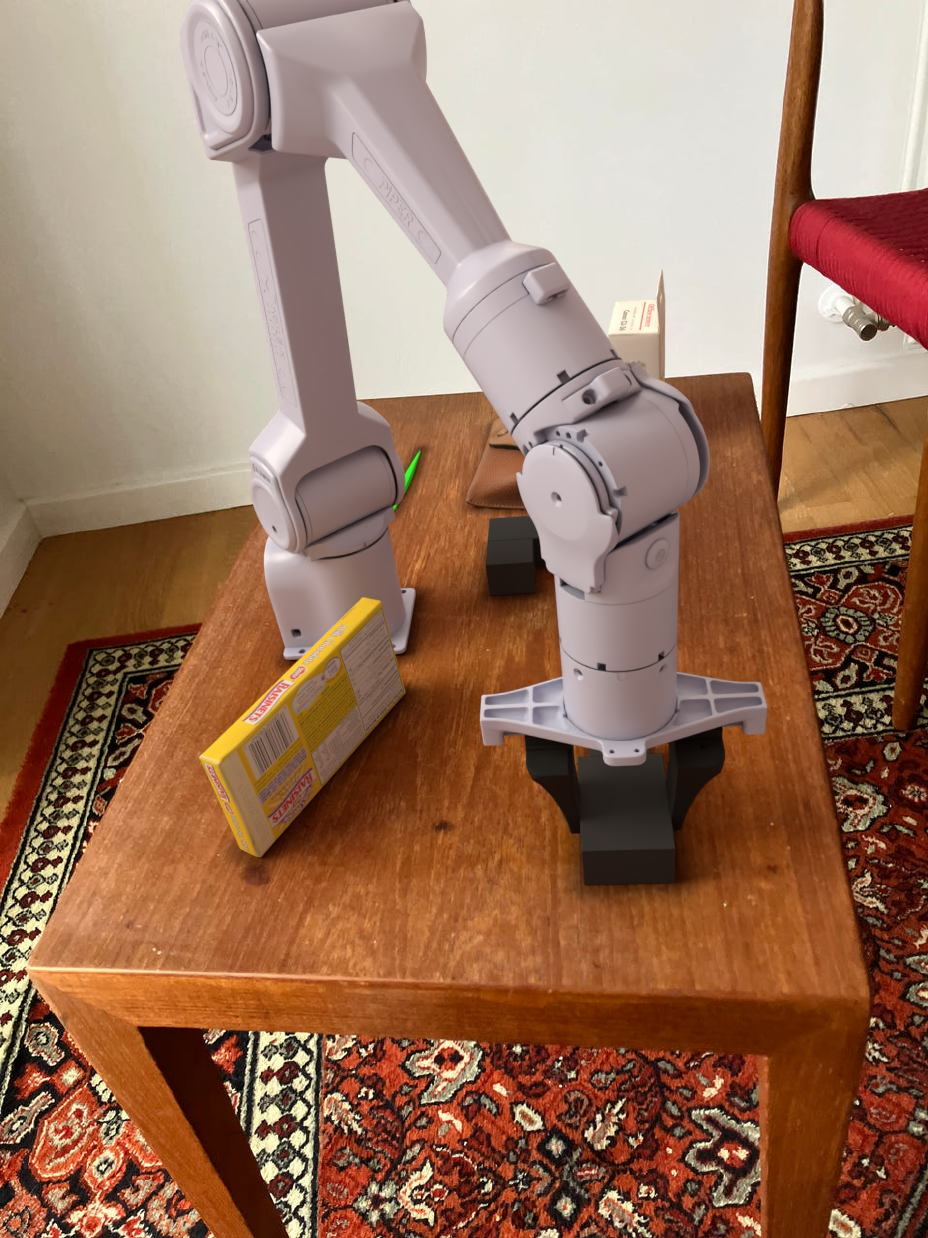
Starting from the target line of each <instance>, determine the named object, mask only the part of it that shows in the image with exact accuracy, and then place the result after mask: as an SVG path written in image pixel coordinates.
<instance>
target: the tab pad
mask: <svg viewBox="0 0 928 1238" xmlns="http://www.w3.org/2000/svg"><path fill="white" fill-rule="evenodd" d="M666 776H667V775H666V769H665V763H664V755H663V753H651V748H649V749H647V750H646V761H645V762H644V763H643V764H640V765H632V766H610V765H608V764H606V763H605V762H604V760H603V753H602V752H601V751H599V750H594V749H590V748H588V756H578V757H577V777H578V782H579V802H580V832H581V833H580V852H581V865H582V879H583V880H582V881H583V885H584V886H598V885H599V886H600V885H601V886H605V885H608V886H609V885H646V884H647V885H648V884H649V885H650V884H651V885H652V884H653V885H654V884H675V883H676V852H677V851H676V849H677V848H676V841H675V834H674V831H673V826H672V819H671V813H670V806H669V799H668V791H667V784H666Z"/></svg>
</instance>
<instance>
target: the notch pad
mask: <svg viewBox="0 0 928 1238" xmlns="http://www.w3.org/2000/svg"><path fill="white" fill-rule="evenodd" d="M488 520H489V521H488V530H487V542H486V543H487V544H486V556H485V572H486V573H485V574H486V579H487V587H488V595H489V596H506V595H521V594H535V593H536V591H537V590H536V589H537V587H536V586H537V585H536V583H537V582H536V581H537V579H536V578H537V574H536V573H537V569H547V567H546V562H545V560H544V559H542V557H541V546H540V539H539V535H538V532H537V529H536V527H535V525H534V523H533V521H532V519H531V518H530V516H529V515H518V516H517V515H516V516H504V517H490V518H489V519H488Z"/></svg>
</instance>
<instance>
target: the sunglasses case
mask: <svg viewBox="0 0 928 1238" xmlns="http://www.w3.org/2000/svg"><path fill="white" fill-rule="evenodd" d="M524 460H525V456H524V455H523V453H522V452H521V450H520V449H519V447H518V445H517V444H516V442H515V441H514V439H513V438H512V436H511V435H510V433H509V432H508V430H507V428H506V427H505V425H504V424H503V422H502V421H501V419H500V418H499V417H498V418H495V419H494V420H493V421H492V422H491V424H490V429H489V433H488V437H487V439H486V443H485V446H484V449H483V452H482V453H481V457H480V460H479V463H478V465H477V469H476V471H475V474H474V476H473V479H472V481H471V483H470V485H469V488H468V491H467V493H466V499H465V503H466V504H468V505H471V506H473V507H477V508H478V507H479V508H480V507H481V508H487V509H494V510H526V508H525V505H524V503H523V500H522V498H521V495H520V491H519V487H518V483H517V477H516V473H518V472H520V473H521V474H522V470H523V464H524Z"/></svg>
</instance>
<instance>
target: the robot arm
mask: <svg viewBox="0 0 928 1238" xmlns="http://www.w3.org/2000/svg"><path fill="white" fill-rule="evenodd" d="M178 32H179V44H180V45H179V46H180V51H181V55H182V56H181V57H182V61H183V65H184V70H185V74H186V77H187V84H188V87H189V92H190V97H191V102H192V106H193V110H194V115H195V120H196V124H197V129H198V132H199V135H200V137H201V140H202V144H203V147H204V148H203V149H204V152H205V155H206V157H207V158H208V159H209V160H211V161H217V162H218V161H219V162H227V163H230V166H231V171H232V176H233V180H234V186H235V189H236V195H237V199H238V205H239V210H240V214H241V215H240V216H241V219H242V225H243V230H244V234H245V239H246V240H245V241H246V245H247V249H248V255H249V260H250V265H251V270H252V274H253V279H254V280H253V281H254V284H255V290H256V294H257V301H258V304H259V309H260V314H261V315H260V316H261V320H262V325H263V330H264V334H265V339H266V344H267V349H268V354H269V357H270V358H269V359H270V364H271V368H272V373H273V378H274V384H275V389H276V393H277V399H278V404H279V408H278V410H277V412H276V413H275V414H274V416H273V417H272V418H271V420H269V422H268V423H267V424H266V426H265V427H264V428H263V429H262V431H260V433H259V434H258V435H257V437H256V438H255V439H254V441H252V443H251V445H250V446H249V447H248V450H247V451H248V455H249V466H250V476H251V477H250V478H251V479H250V480H251V481H250V485H249V487H250V488H249V493H250V500H251V502H252V506H253V509H254V511H255V514H256V516H257V518H258V520H259V523H260V524H261V526H262V528H263V530H264V531H265V533H266V534H267V536H268V537H267V538H266V542H265V547H264V552H263V553H264V554H263V571H264V581H265V586H266V590H267V592H268V596H269V600H270V602H271V605H272V610H273V612H274V616H275V620H276V622H277V625H278V628H279V632H280V635H281V638H282V641H283V645H284V649H283V657H284V658H283V659H285V660H287V661H293V660H296V661H297V660H299V659H300V658H301V657H302V656H303V655H304V654H306V653H307V652H308V651H309V650H310V649H311V648H312V647H313V646H314V645H315V644H316V643H317V642H318V641H319V640H320V639H321V638H322V637H323V636H324V635H325V634H326V633H327V632H328V631H329V630H330V629H331V628H332V627H333V626H334V625H335V624H336V623H337V622H338V621H339V620H340V619H341V618H342V617H343V616H344V615H345V614H346V613H347V612H348V611H349V610H350V609H351V608H352V607H353V606H354V605H355V604H356V603H358V602H359V601H360V600H361V598H362V597H365V598H370V599H375V600H380V601H381V603H382V607H383V611H384V615H385V618H386V622H387V626H388V630H389V633H390V637H391V641H392V644H393V648H394V652H395V655H401V654H404V653H405V652H406V651H407V648H408V643H409V636H410V630H411V626H412V618H413V613H414V608H415V602H416V597H417V592H416V589H415V588H413V587H405V588H404V587H403V588H402V587H401V583H400V577H399V572H398V567H397V562H396V557H395V553H394V547H393V543H392V538H391V537H392V536H391V534H390V528H389V525H391V524H392V523H393V522H395V521H396V519H397V517H396V513H395V511H394V507H393V506H395V505H397V504H399V505H400V503H402V501H403V499H404V496H405V494H404V492H405V473H406V472H405V469H404V465H403V463H402V460H401V457H400V455H399V452H398V451H397V448H396V445H395V441H394V437H393V432H392V427H391V425H390V423H389V422H388V421H387V420H386V419H385V418H384V417H383V415H381V414H380V412H378V411H377V410H376V409H374V408H373V407H372V406H370V405H368V404H367V403H365V402H362V401H359V400H357V394H356V386H355V379H354V372H353V366H352V365H353V364H352V358H351V350H350V349H351V348H350V344H349V343H350V342H349V336H348V329H347V322H346V314H345V307H344V299H343V292H342V284H341V277H340V271H339V264H338V262H339V261H338V257H337V256H338V255H337V249H336V242H335V234H334V227H333V220H332V219H333V218H332V212H331V205H330V198H329V192H328V191H329V190H328V183H327V177H326V163H327V161H328V160H329V158H330V159H339V160H340V159H341V160H347V161H348V162H349V164H350V165H351V166H352V167H353V168H354V169H355V171H356V172H357V174H358V175H359V177H361V179H362V180H363V182H364V183H365V184H366V185H367V187H368V188H369V189H370V190H371V192H372V193H373V194H374V196H375V197H376V198H377V200H378V201H379V202H380V203H381V205H382V206H383V207H384V208H385V210H386V211H387V213H388V214H389V215H390V216H391V218H392V220H394V222H395V223H396V224H397V226H398V227H399V228H400V230H401V231H402V232H403V234H404V235H405V236H406V237H407V238H408V240H409V241H410V243H411V244H412V245H413V246H414V248H415V249H416V250H417V252H419V254H420V256H421V257H422V258H423V259H424V260H425V262H426V264H427V265H428V266H429V268H430V269H431V270H432V271H433V272H434V273H435V274H436V276H437V277H438V279H439V280H440V281H441V283H442V284H443V285H444V287H445V288H446V298H445V304H444V305H445V306H444V310H443V311H444V312H443V318H442V324H443V325H442V326H443V327H442V328H443V330H444V333H445V335H446V336H447V338H448V339H449V340H450V342H451V344H452V346H453V347H454V349H455V350H456V352H457V354H458V355H459V357H460V358H461V360H462V361H463V363H464V365H465V367H466V368H467V369H468V371H469V373H470V374H471V376H472V377H473V378H474V380H475V382H476V384H477V385H478V386H479V389H481V391H482V392H483V394H484V396H485V397H486V399H487V401H488V402H489V404H490V406H491V407H492V408H493V410H494V412H495V413H496V414H497V416H498V418H500V419H501V421H502V422H503V424H504V425H505V427H506V428H507V430H508V432H509V433H510V435H511V436H512V438H513V439H514V441H515V442H516V444H517V445H518V447H519V449H520V450H521V452H522V453H523V455H524V456H525V460H524V464H523V470H522V474H521V473H520V472H518V473H516V477H517V483H518V487H519V491H520V495H521V498H522V500H523V503H524V505H525V508H526V509H525V510H526V512H527V514H528V516H530V518H531V519H532V521H533V523H534V525H535V527H536V529H537V532H538V535H539V539H540V546H541V557H542V559H544V560H545V562H546V567H547V568H546V569H547V571H548V572H549V573H551V574H552V575H553V576H554V588H555V590H554V591H555V601H556V613H557V614H556V615H557V626H558V627H557V628H558V637H559V638H558V641H559V652H560V653H559V654H560V665H561V676H560V677H555V678H553V679H549V680H546V681H542V682H538V683H536V684H532V685H529V686H526V687H521V688H518V689H514V690H510V691H506V692H500V693H492V694H482V695H481V698H480V699H481V700H480V712H479V723H480V724H479V725H480V730H481V736H482V743H483V746H485V747H487V746H488V747H490V746H491V747H492V746H501V745H503V744H504V743H505V737H524V744H525V748H524V749H525V767H526V770H527V773H528V775H529V777H530V779H531V780H532V781H533V782H535V783H536V784H537V785H539V786H540V787H541V788H543V789H544V790H545V791H546V793H548V795H549V796H550V798H552V800H553V801H554V802H555V804H556V805H557V806H558V808H559V810H560V811H561V814H562V815H563V817H564V819H565V821H566V824H567V827H568V830H569V833H570V834H571V835H574V834H577V835H578V834H580V835H581V832H580V802H579V782H578V770H577V767H576V759H575V748H574V747H575V746H576V747H581V748H585V749H589V748H590V749H594V750H599V751H601V752H602V753H603V760H604V762H605V763H606V764H608V765H610V766H632V765H640V764H643V763H644V762H645V761H646V750H647V749H649V748H650V749H652V748H655V747H659V746H661V745H665V744H668V745H667V752H668V753H667V756H668V757H667V767H666V775H665V776H666V784H667V791H668V799H669V806H670V813H671V819H672V826H673V832H678V831H679V832H680V831H682V830H683V826H684V822H685V819H686V817H687V815H688V813H689V810H690V808H691V806H692V805H693V804H694V801H695V800H696V798H697V796H698V795H699V794H700V792H701V791H702V790H703V788H704V787H706V785H707V784H708V783H710V782H711V781H712V780H713V779H714V778H715V777H717V776H719V775H720V774H721V773H722V771H723V768H724V765H725V762H726V748H725V744H724V739H723V734H724V733H723V732H724V728H735V727H736V728H737V727H741V731H742V733H743V734H744V735H747V736H756V735H766V729H767V719H768V707H769V706H768V703H767V700H766V695H765V692H764V689H763V685H762V682H760V681H737V680H736V681H734V680H727V679H719V678H715V677H710V676H709V677H708V676H703V675H698V674H692V673H687V672H681V671H678V628H679V627H678V625H679V623H678V621H679V568H680V520H681V516H680V515H681V513H680V512H677V511H676V510H678V509H679V508H681V507H683V506H684V505H686V504H687V503H688V502H689V501H690V500H691V499H693V498H695V497H696V496H697V495H698V494H699V493H700V492H701V491H702V490H703V488H704V487H705V485H706V483H707V481H708V478H709V473H710V469H711V451H710V447H709V442H708V438H707V435H706V432H705V430H704V427H703V425H702V423H701V421H700V419H699V417H698V416H697V414H696V412H695V409H694V407H693V404H692V402H691V400H689V399H688V397H687V396H685V394H683V393H682V392H681V391H680V390H679V389H678V388H676V387H674V386H673V385H672V384H670V383H668V382H666V381H665V382H663V381H661V380H657V379H655V378H653V377H651V376H650V375H649V374H648V373H647V372H646V371H645V370H644V368H643V367H642V365H641V364H639V365H637V364H636V363H635V362H634V361H630V362H628V363H627V362H625V363H624V361H623V360H622V358H621V357H620V355H619V354H618V352H617V351H616V349H615V348H614V346H613V345H612V343H611V342H610V340H609V339H608V335H607V334H606V333H605V330H603V328H602V327H601V325H600V323H599V322H598V320H597V319H596V317H595V315H594V314H593V313H592V311H591V310H590V308H589V307H588V304H587V303H586V302H585V300H584V299H583V297H582V296H581V295H580V293H579V291H578V290H577V289H576V287H575V285H574V283H573V282H572V281H571V279H570V278H569V276H568V275H567V273H566V272H565V270H564V269H563V267H562V266H561V264H560V263H559V261H558V259H557V257H555V255H554V253H552V251H550V250H549V249H547V248H544V247H542V246H541V247H540V246H537V245H532V244H526V243H521V242H516V241H513V239H512V237H511V235H510V234H509V232H508V230H507V229H506V226H505V225H504V223H503V221H502V219H501V217H500V216H499V214H498V212H497V210H496V208H495V206H494V204H493V203H492V201H491V199H490V197H489V195H488V193H487V192H486V190H485V188H484V186H483V184H482V182H481V181H480V179H479V177H478V175H477V173H476V172H475V169H474V168H473V166H472V164H471V162H470V160H469V159H468V156H467V155H466V152H465V151H464V149H463V148H462V146H461V144H460V142H459V140H458V138H457V136H456V135H455V133H454V131H453V129H452V127H451V125H450V123H449V122H448V119H447V118H446V117H445V114H444V113H443V111H442V109H441V107H440V106H439V105H440V104H439V103H438V102H437V100H436V97H435V96H434V94H433V92H432V90H431V89H430V87H429V85H428V83H427V74H428V73H427V72H428V71H427V69H428V67H427V66H428V53H427V52H428V50H427V39H426V30H425V25H424V20H423V18H422V16H421V14H420V13H419V12H418V11H417V9H416V8H415V7H414V6H413V4H412V2H411V0H189V2H188V5H187V7H186V11H185V13H184V16H183V19H182V22H181V24H180V28H179V31H178ZM405 493H406V492H405Z"/></svg>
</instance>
